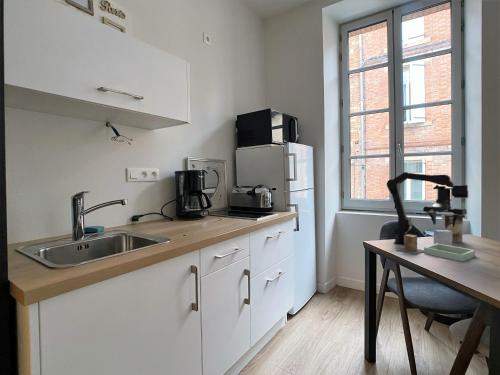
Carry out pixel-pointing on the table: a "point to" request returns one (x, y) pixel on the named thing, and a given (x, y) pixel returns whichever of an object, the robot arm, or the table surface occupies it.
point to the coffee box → (457, 230)
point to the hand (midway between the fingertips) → (443, 225)
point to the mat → (410, 251)
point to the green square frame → (462, 255)
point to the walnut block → (410, 242)
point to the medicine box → (443, 237)
